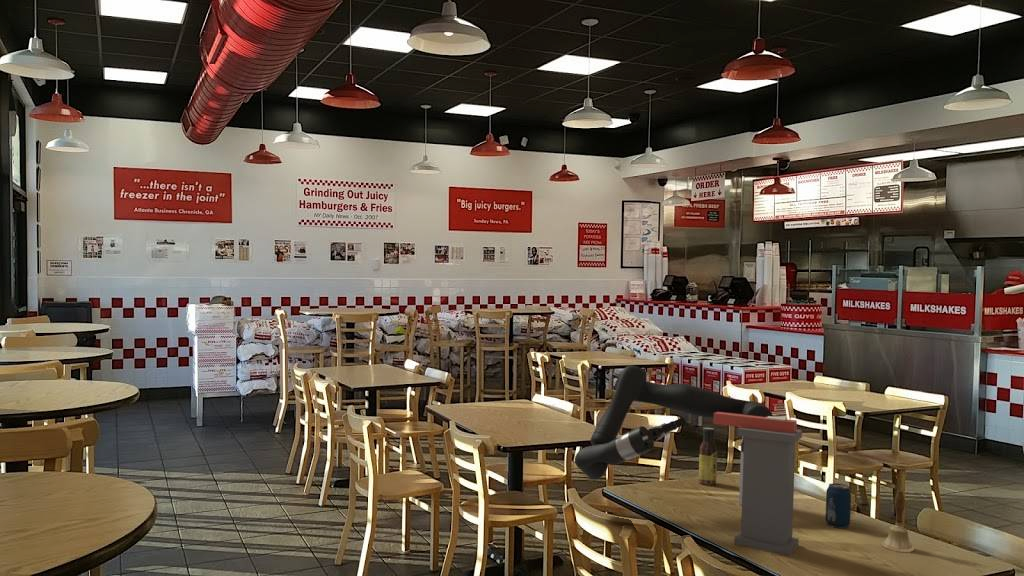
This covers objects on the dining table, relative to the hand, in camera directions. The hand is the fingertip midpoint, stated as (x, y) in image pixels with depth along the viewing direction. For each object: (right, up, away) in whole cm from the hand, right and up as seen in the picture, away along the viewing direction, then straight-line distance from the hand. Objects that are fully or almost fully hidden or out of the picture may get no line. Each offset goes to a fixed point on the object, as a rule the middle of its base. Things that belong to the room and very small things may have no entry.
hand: (680, 422), depth 237 cm
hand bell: (+58, -33, -12) cm, 68 cm away
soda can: (+49, -33, +8) cm, 59 cm away
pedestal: (+21, -32, -13) cm, 40 cm away
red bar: (+18, 0, -11) cm, 21 cm away
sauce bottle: (+21, -31, +54) cm, 66 cm away
